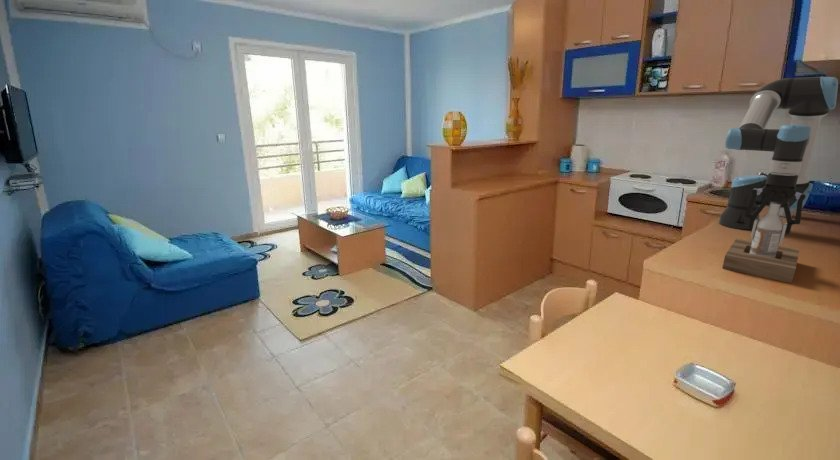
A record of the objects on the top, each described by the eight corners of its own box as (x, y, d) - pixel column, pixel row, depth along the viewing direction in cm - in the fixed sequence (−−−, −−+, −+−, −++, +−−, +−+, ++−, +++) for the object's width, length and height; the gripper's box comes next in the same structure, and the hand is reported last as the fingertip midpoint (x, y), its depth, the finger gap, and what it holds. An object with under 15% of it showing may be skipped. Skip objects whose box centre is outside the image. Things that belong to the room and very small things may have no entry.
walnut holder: (733, 250, 156) (736, 238, 154) (795, 262, 144) (799, 249, 142) (722, 268, 139) (725, 254, 138) (791, 283, 127) (795, 268, 126)
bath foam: (744, 254, 145) (758, 200, 139) (767, 256, 143) (781, 201, 137) (754, 261, 138) (769, 205, 132) (778, 263, 137) (794, 206, 131)
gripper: (743, 171, 136) (728, 236, 143) (825, 178, 123) (804, 249, 130) (746, 169, 141) (732, 231, 148) (825, 175, 128) (805, 243, 135)
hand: (766, 239), depth 139 cm, fingers closed on bath foam, 7 cm apart
